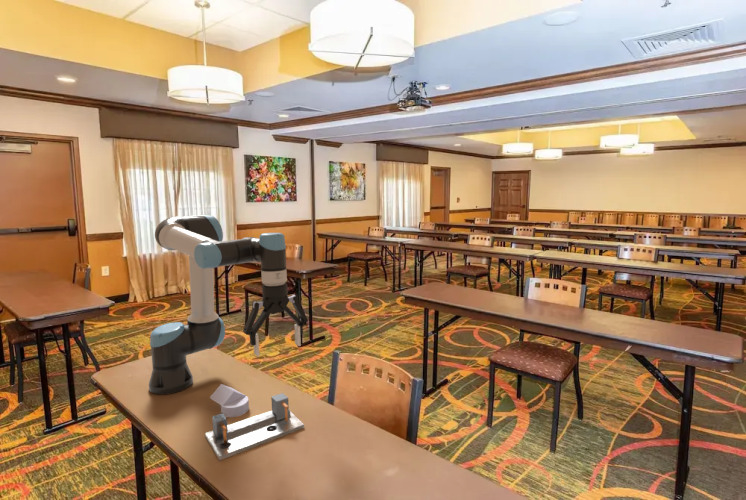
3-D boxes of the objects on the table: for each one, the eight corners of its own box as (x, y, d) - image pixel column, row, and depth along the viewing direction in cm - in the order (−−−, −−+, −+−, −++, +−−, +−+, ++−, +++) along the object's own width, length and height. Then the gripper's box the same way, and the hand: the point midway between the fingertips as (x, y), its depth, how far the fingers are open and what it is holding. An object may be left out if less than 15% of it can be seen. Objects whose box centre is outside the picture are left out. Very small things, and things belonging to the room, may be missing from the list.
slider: (272, 415, 134) (271, 396, 133) (283, 411, 136) (282, 392, 135) (281, 425, 128) (280, 405, 127) (293, 421, 130) (292, 401, 130)
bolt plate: (205, 436, 125) (203, 413, 124) (284, 409, 140) (284, 388, 139) (219, 460, 114) (217, 434, 113) (304, 427, 129) (303, 404, 128)
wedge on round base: (210, 406, 142) (230, 420, 134) (208, 388, 141) (228, 401, 133) (233, 397, 149) (254, 409, 141) (232, 379, 148) (253, 390, 140)
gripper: (237, 291, 116) (242, 363, 119) (316, 279, 130) (319, 344, 133) (229, 286, 122) (234, 355, 125) (306, 276, 137) (308, 338, 139)
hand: (278, 349), depth 129 cm, fingers open, 13 cm apart
